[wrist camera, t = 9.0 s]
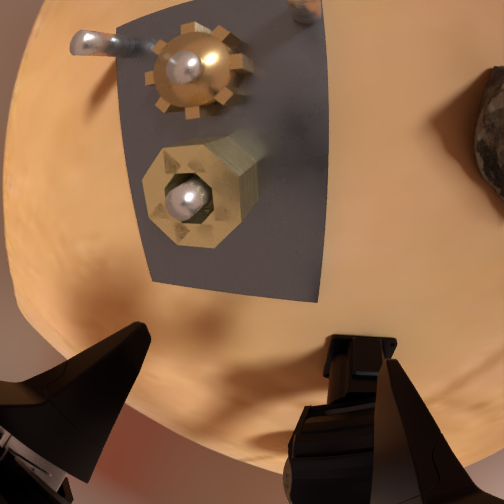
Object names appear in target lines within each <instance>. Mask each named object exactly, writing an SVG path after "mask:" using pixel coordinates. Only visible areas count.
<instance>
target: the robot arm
mask: <svg viewBox="0 0 504 504" xmlns="http://www.w3.org/2000/svg"><path fill="white" fill-rule="evenodd" d="M150 343H151V336H150V333H149V331H148V328H147V326H146V324H145V323H142V322H134V323H132V324H130V325H128V326H127V327H125V328H123V329H121V330H120V331H118V332H116V333H114V334H113V335H111V336H109V337H107V338H106V339H104V340H102V341H100V342H98V343H97V344H95V345H93V346H91V347H90V348H88V349H86V350H84V351H83V352H81V353H79V354H77V355H75V356H74V357H72V358H70V359H69V360H66V361H65V362H63V363H61V364H59V365H57V366H56V367H54V368H52V369H50V370H48V371H45V372H44V373H41V374H39V375H37V376H34V377H32V378H30V379H28V380H25V381H23V382H17V383H13V382H5V381H0V504H71V503H72V501H73V496H72V493H71V489H70V485H69V481H68V478H67V477H66V475H67V473H69V474H70V475H72V476H74V477H76V478H77V479H79V480H81V481H83V482H85V483H88V482H89V480H90V478H91V476H92V473H93V471H94V468H95V466H96V464H97V461H98V459H99V457H100V455H101V452H102V450H103V447H104V445H105V443H106V441H107V439H108V437H109V434H110V432H111V430H112V428H113V426H114V424H115V421H116V419H117V417H118V415H119V413H120V411H121V409H122V407H123V405H124V403H125V401H126V398H127V396H128V394H129V392H130V390H131V388H132V386H133V384H134V382H135V380H136V378H137V376H138V374H139V372H140V369H141V367H142V364H143V361H144V359H145V356H146V354H147V351H148V348H149V346H150ZM396 347H397V340H396V339H395V338H379V337H361V336H347V335H334V336H332V338H331V342H330V346H329V351H328V355H327V359H326V363H325V367H324V371H323V376H324V377H325V378H329V386H328V396H327V404H326V405H318V406H305V407H304V409H303V412H302V414H301V416H300V419H299V421H298V423H297V426H296V428H295V430H294V432H293V435H292V437H291V439H290V441H289V444H288V456H289V462H290V466H291V473H292V483H291V493H290V500H291V502H292V504H504V500H503V499H500V498H498V497H495V496H493V495H491V494H488V493H486V492H484V491H482V490H481V489H479V488H478V487H477V486H476V485H475V483H474V482H473V481H472V479H471V478H470V476H469V475H468V473H467V472H466V471H465V469H464V468H463V466H462V465H461V463H460V462H459V461H458V459H457V458H456V456H455V455H454V453H453V452H452V450H451V448H450V446H449V445H448V443H447V441H446V440H445V438H444V436H443V434H442V433H441V431H440V429H439V427H438V425H437V424H436V422H435V420H434V419H433V417H432V415H431V413H430V412H429V410H428V408H427V407H426V405H425V403H424V402H423V400H422V398H421V397H420V395H419V393H418V392H417V390H416V389H415V387H414V385H413V384H412V382H411V381H410V379H409V377H408V376H407V374H406V373H405V371H404V370H403V368H402V366H401V365H400V363H399V362H398V360H396V359H391V357H392V355H393V353H394V351H395V349H396Z"/></svg>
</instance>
